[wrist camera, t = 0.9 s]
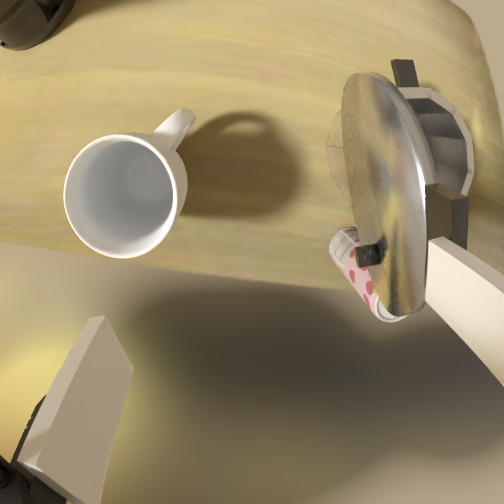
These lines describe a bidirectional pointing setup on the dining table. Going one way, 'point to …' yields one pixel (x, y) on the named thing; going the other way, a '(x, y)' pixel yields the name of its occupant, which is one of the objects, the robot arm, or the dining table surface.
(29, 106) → the dining table surface
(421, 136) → the lid
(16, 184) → the dining table surface
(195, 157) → the dining table surface
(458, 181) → the pot
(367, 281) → the beverage can
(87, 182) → the mug
